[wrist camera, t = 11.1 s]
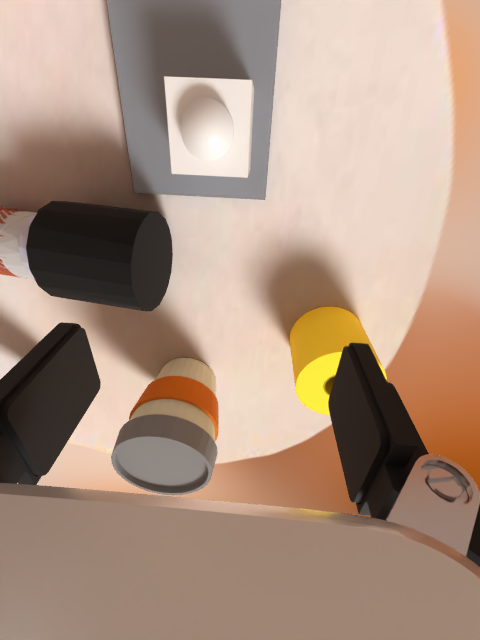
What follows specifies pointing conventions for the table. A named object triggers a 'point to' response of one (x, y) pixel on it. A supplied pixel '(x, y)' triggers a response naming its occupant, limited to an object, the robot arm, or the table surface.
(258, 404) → the table surface
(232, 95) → the white push button box
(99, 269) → the black and white bottle
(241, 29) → the plate
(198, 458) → the reusable coffee cup
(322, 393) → the yellow toilet paper roll
